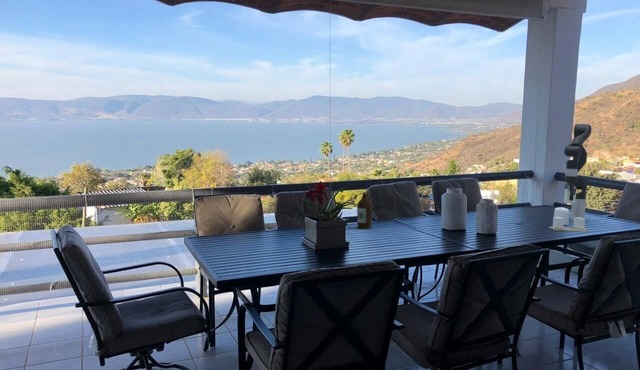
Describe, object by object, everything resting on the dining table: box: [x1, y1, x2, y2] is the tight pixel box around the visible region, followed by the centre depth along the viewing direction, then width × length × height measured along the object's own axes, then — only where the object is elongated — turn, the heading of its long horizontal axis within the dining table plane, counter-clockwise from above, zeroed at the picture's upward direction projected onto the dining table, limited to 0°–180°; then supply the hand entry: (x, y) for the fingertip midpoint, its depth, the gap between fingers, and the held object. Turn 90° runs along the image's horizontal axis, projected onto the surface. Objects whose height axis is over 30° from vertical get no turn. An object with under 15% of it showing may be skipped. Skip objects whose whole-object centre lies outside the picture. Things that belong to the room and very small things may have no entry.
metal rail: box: [550, 226, 587, 229], centre depth 345 cm, size 4×22×1 cm, turn 86°
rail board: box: [549, 226, 589, 232], centre depth 345 cm, size 10×22×1 cm, turn 86°
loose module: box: [563, 188, 577, 204], centre depth 342 cm, size 4×6×9 cm, turn 85°
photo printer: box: [553, 206, 570, 226], centre depth 364 cm, size 10×4×12 cm, turn 39°
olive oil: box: [356, 191, 373, 230], centre depth 345 cm, size 11×11×25 cm
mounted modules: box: [552, 216, 586, 229], centre depth 344 cm, size 6×19×7 cm, turn 86°
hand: (569, 199), depth 342 cm, fingers closed on loose module, 4 cm apart
